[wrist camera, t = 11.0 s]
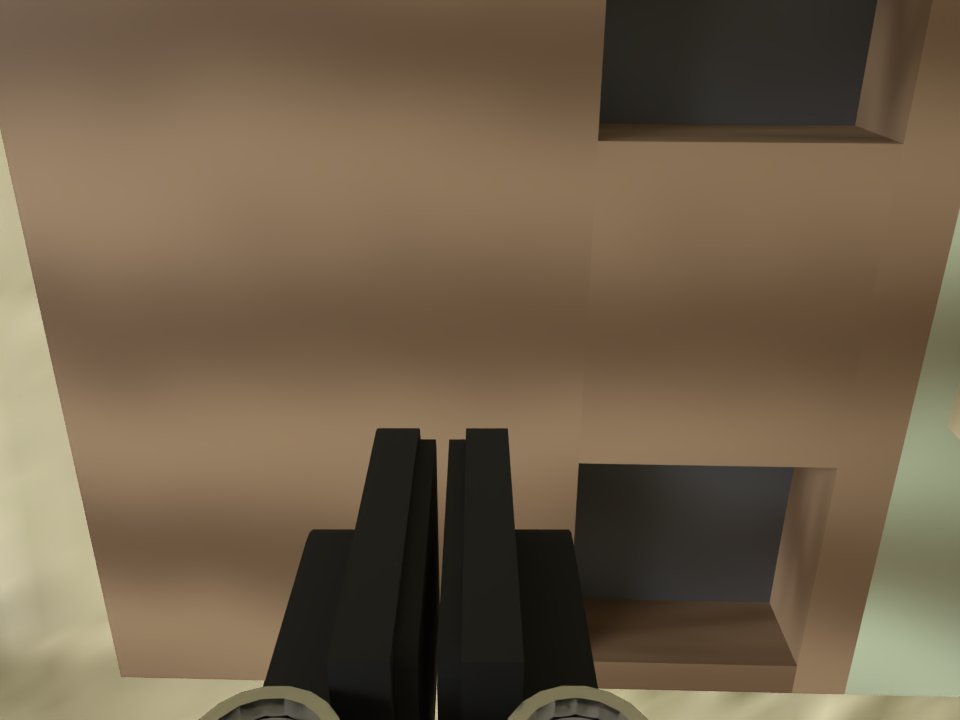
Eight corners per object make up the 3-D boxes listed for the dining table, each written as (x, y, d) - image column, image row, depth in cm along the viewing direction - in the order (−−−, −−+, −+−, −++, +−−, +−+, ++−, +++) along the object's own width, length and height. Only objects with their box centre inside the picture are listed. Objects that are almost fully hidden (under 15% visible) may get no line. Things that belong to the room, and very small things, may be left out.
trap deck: (-1, -242, 18) (-172, -322, 13) (1329, -245, 17) (1624, -330, 13) (159, 608, 27) (90, 732, 23) (1031, 627, 27) (1140, 758, 22)
